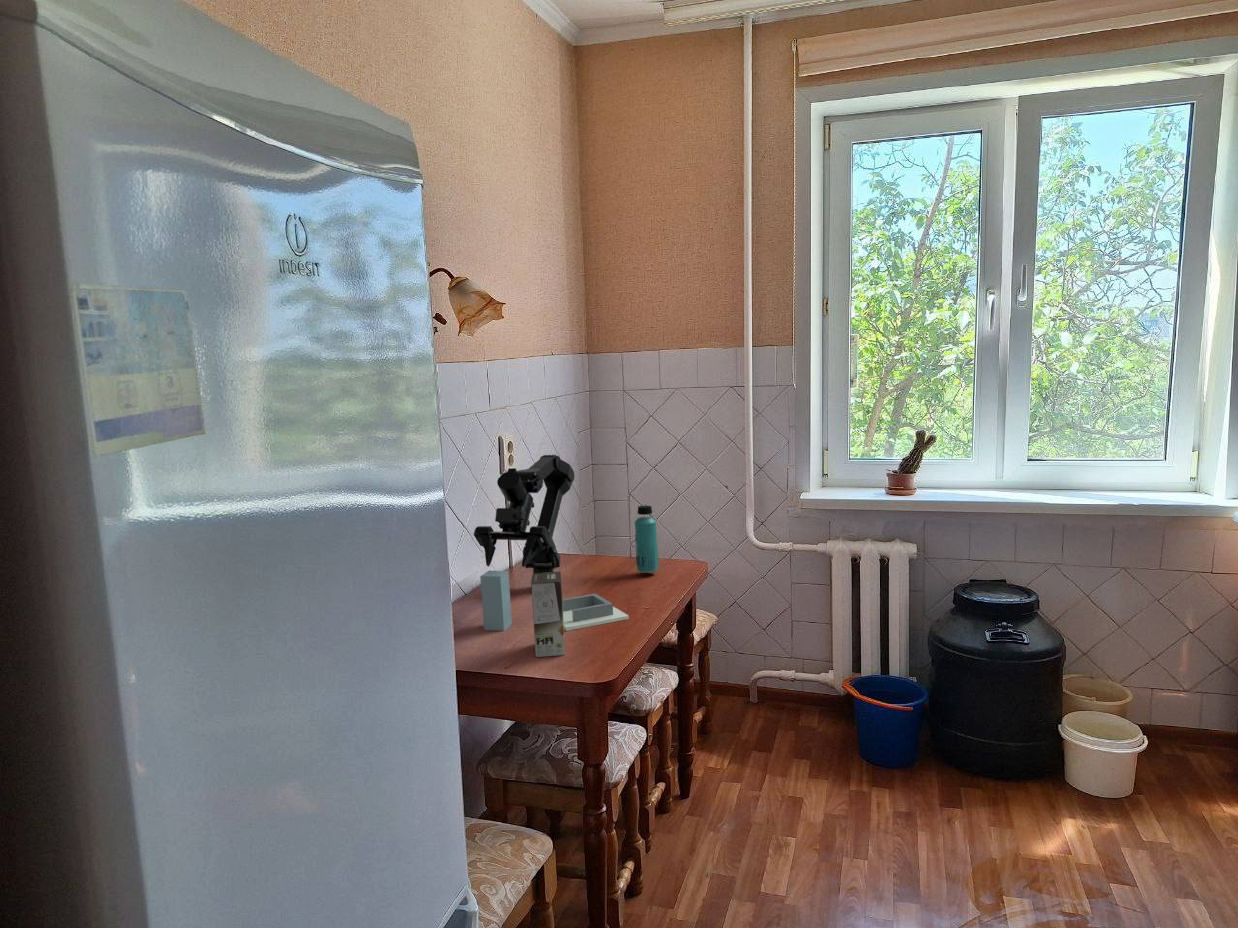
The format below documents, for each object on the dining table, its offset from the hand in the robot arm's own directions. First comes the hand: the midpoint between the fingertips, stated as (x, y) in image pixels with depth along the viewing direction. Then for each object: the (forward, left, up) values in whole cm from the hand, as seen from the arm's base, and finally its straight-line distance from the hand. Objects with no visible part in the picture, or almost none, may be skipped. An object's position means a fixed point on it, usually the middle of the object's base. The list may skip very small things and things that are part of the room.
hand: (505, 565), depth 201 cm
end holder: (+4, +18, -13) cm, 23 cm away
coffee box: (+25, +8, -13) cm, 30 cm away
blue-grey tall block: (+6, -3, -13) cm, 15 cm away
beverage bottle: (-29, +40, -13) cm, 51 cm away
